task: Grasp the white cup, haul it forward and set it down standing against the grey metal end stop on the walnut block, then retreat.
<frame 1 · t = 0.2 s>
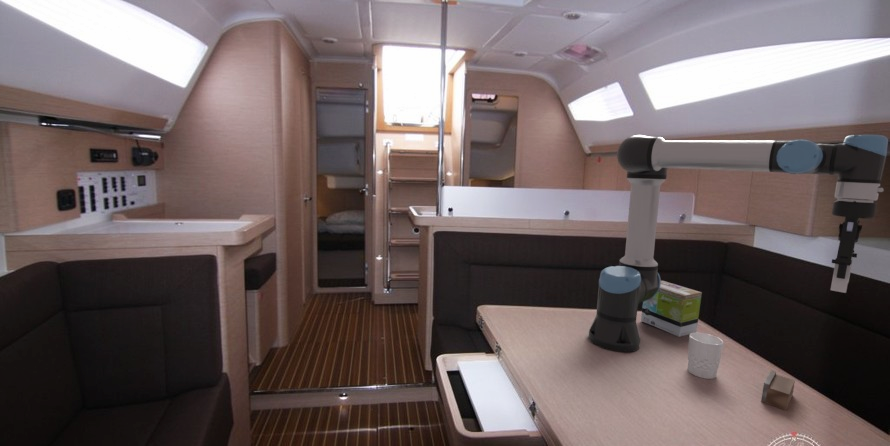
hand: (839, 286, 104), 28 cm above the table, fingers open, 13 cm apart
end stop: (775, 397, 103), on the table
tea box: (667, 327, 147), on the table
white cup: (701, 373, 115), on the table
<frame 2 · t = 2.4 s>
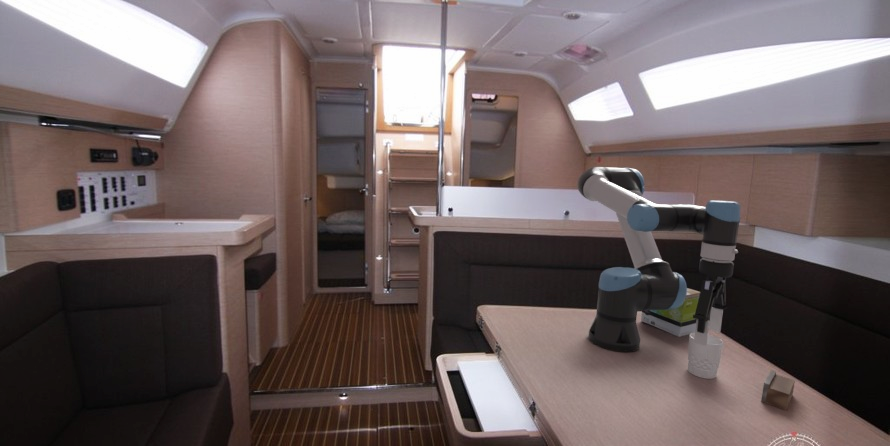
hand: (707, 337, 113), 10 cm above the table, fingers open, 13 cm apart
nothing on the table moved.
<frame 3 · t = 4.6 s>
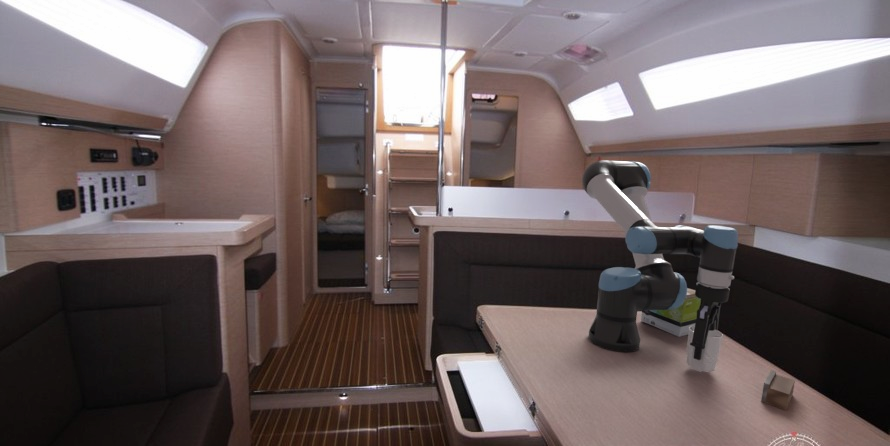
hand: (700, 364, 115), 2 cm above the table, fingers closed on white cup, 7 cm apart
white cup: (700, 366, 115), point 2 cm above the table, touching gripper
everything else where it was.
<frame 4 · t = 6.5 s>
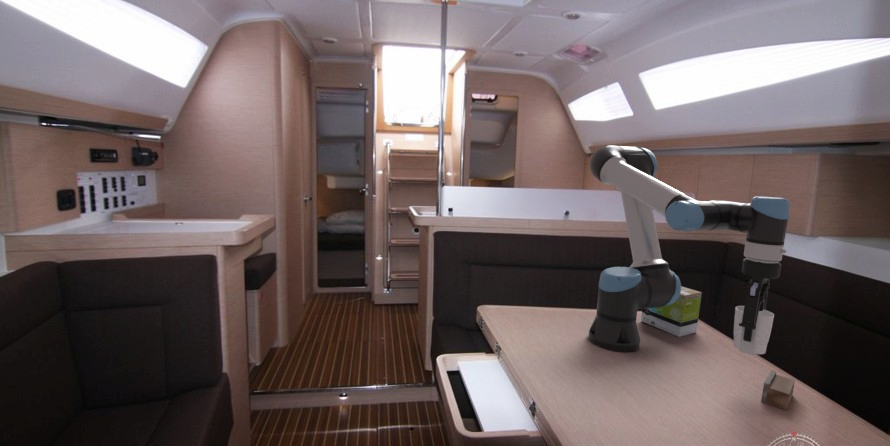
hand: (749, 348, 106), 11 cm above the table, fingers closed on white cup, 7 cm apart
white cup: (748, 349, 106), point 10 cm above the table, touching gripper
everything else where it was.
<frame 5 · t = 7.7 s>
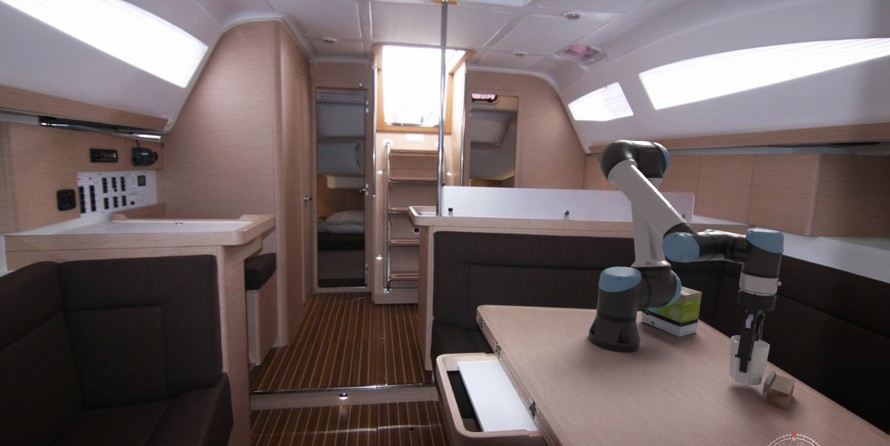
hand: (745, 377, 107), 3 cm above the table, fingers closed on white cup, 7 cm apart
white cup: (744, 379, 107), point 2 cm above the table, touching gripper
everything else where it was.
when the fingers open (1 cm above the table, at t = 8.5 s): white cup stays where it is, on the table.
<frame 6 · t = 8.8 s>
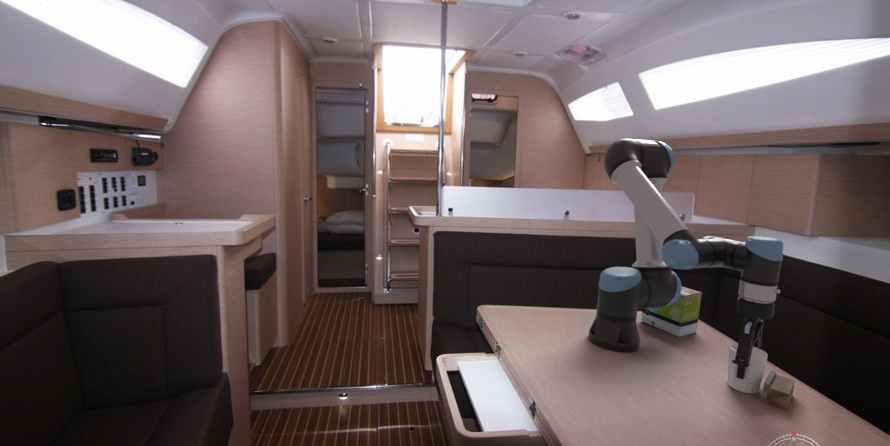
hand: (744, 381, 108), 1 cm above the table, fingers open, 10 cm apart
white cup: (742, 387, 108), on the table
everything else where it was.
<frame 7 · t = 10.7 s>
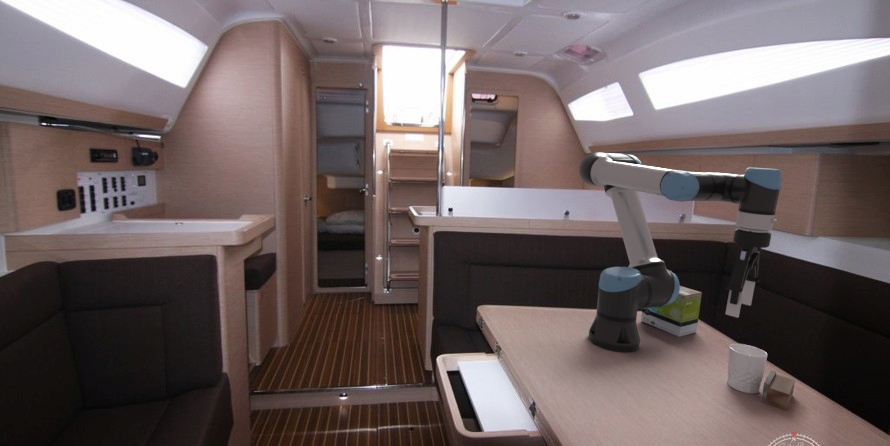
hand: (738, 309, 109), 19 cm above the table, fingers open, 13 cm apart
nothing on the table moved.
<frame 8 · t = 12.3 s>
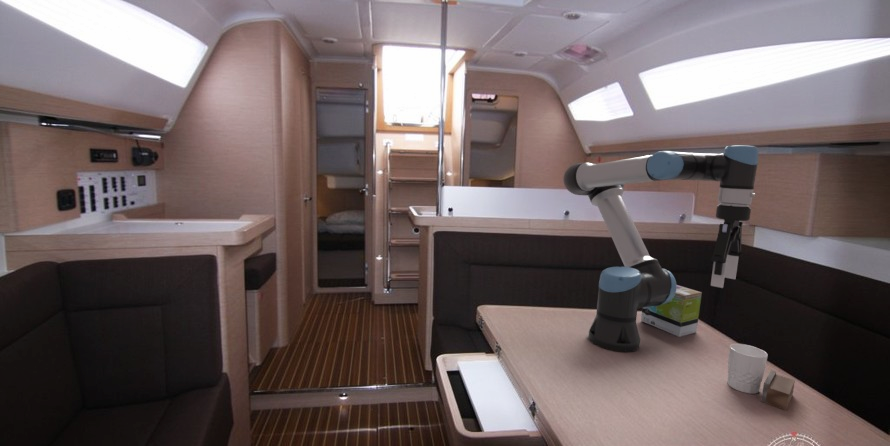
hand: (723, 282, 115), 25 cm above the table, fingers open, 13 cm apart
nothing on the table moved.
at the end: white cup inside the target area (0.4 cm from its centre), on the table; white cup tilted 0°; the gripper is holding nothing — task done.
